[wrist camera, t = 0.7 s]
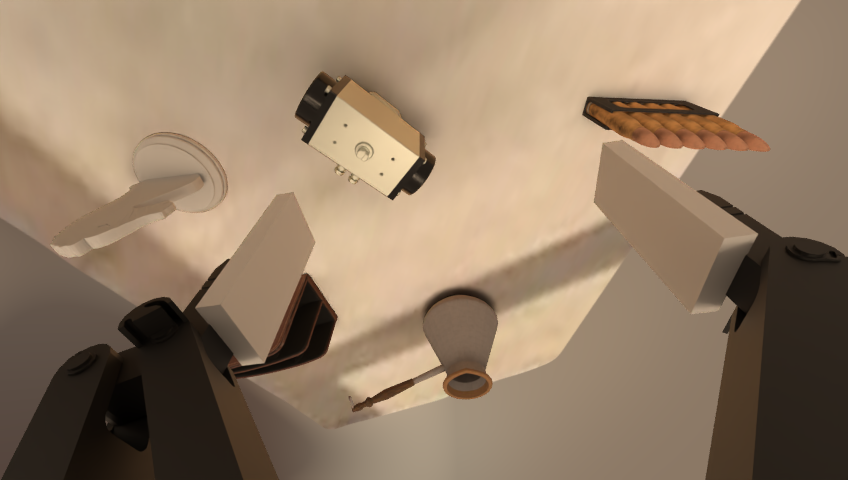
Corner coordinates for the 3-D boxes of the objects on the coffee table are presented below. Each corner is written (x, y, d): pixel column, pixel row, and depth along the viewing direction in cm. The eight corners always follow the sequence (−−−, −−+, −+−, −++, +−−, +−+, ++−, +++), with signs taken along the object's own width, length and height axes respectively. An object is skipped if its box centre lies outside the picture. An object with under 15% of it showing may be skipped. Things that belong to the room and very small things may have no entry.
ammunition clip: (687, 100, 35) (788, 138, 26) (678, 118, 36) (773, 161, 27) (587, 96, 35) (652, 133, 25) (581, 115, 36) (641, 157, 26)
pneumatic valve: (341, 56, 33) (307, 79, 23) (434, 130, 37) (439, 176, 27) (314, 103, 35) (274, 142, 25) (404, 167, 39) (399, 222, 30)
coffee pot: (494, 281, 50) (518, 372, 38) (494, 331, 57) (515, 422, 45) (354, 295, 52) (334, 387, 39) (371, 342, 58) (358, 433, 46)
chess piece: (241, 205, 42) (168, 288, 30) (167, 213, 43) (66, 298, 31) (202, 127, 37) (93, 190, 24) (118, 137, 37) (-30, 204, 25)
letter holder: (194, 301, 52) (130, 385, 41) (308, 271, 49) (274, 354, 37) (233, 340, 58) (187, 424, 46) (338, 316, 54) (316, 400, 43)
